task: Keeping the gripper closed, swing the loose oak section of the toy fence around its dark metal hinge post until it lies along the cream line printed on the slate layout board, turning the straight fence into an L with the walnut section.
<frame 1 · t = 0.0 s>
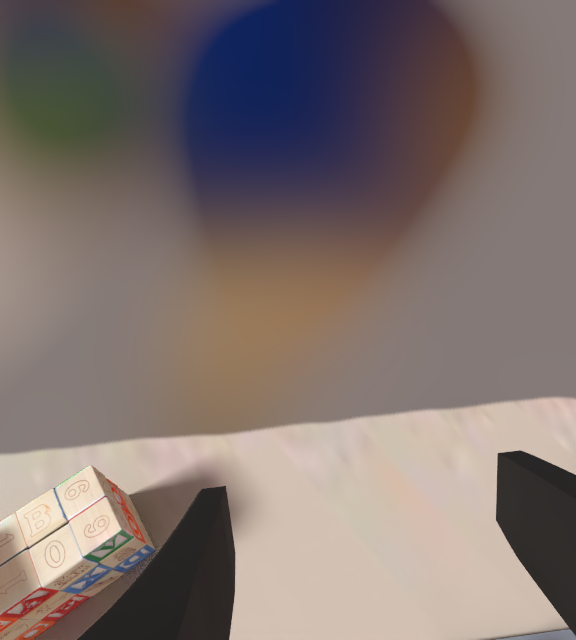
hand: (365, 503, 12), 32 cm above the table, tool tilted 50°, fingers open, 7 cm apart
stack of blocks: (30, 599, 39), on the table
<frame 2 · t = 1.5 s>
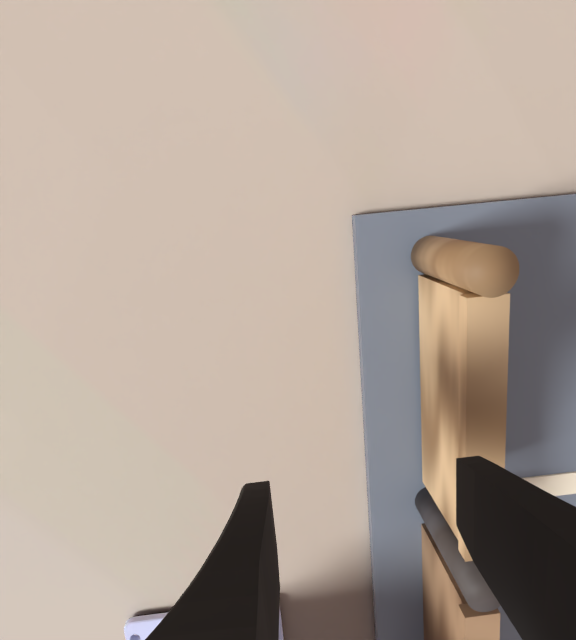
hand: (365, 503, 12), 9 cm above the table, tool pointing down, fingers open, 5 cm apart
layout board: (426, 492, 23), on the table
oak fence section: (456, 389, 17), point 4 cm above the table, hinge at 0.0°
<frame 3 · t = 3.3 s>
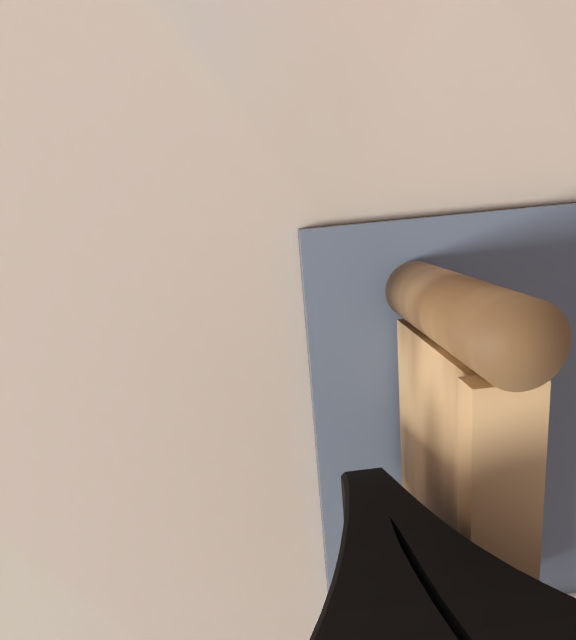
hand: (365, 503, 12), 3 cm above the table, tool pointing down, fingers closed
layout board: (412, 612, 16), on the table
oak fence section: (454, 506, 11), point 4 cm above the table, hinge at 0.0°, touching gripper
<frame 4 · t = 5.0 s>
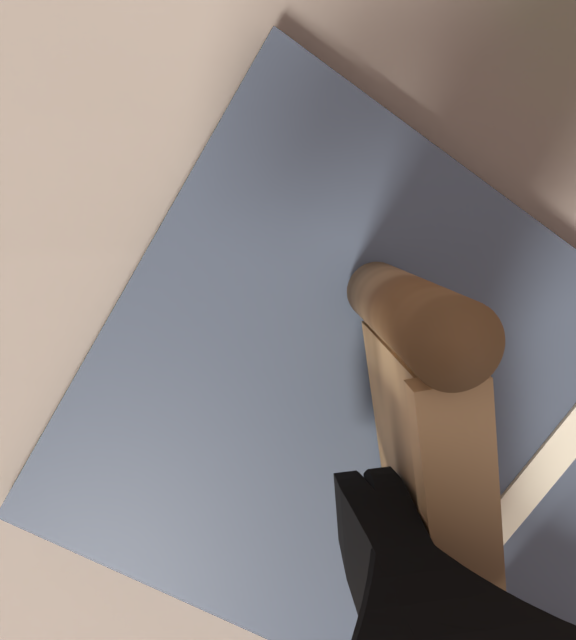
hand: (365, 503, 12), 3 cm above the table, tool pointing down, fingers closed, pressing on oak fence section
layout board: (409, 609, 16), on the table
oak fence section: (427, 505, 11), point 4 cm above the table, hinge at -47.8°, touching gripper
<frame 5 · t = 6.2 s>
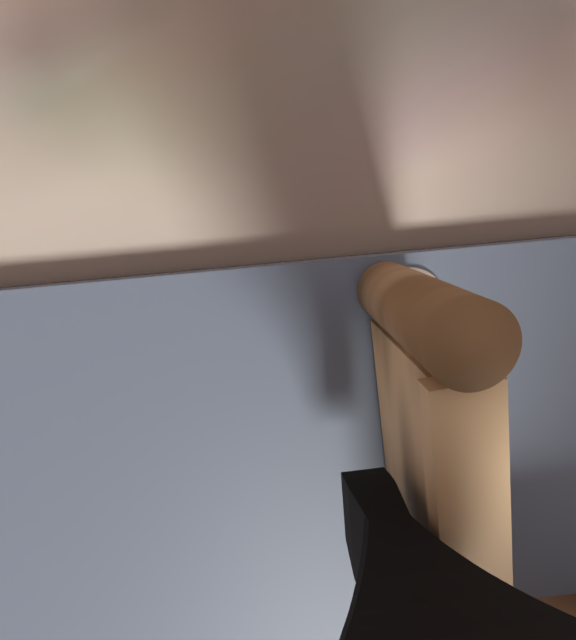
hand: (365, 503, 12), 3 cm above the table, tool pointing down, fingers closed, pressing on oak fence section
layout board: (409, 610, 16), on the table
oak fence section: (433, 505, 11), point 4 cm above the table, hinge at -86.5°, touching gripper
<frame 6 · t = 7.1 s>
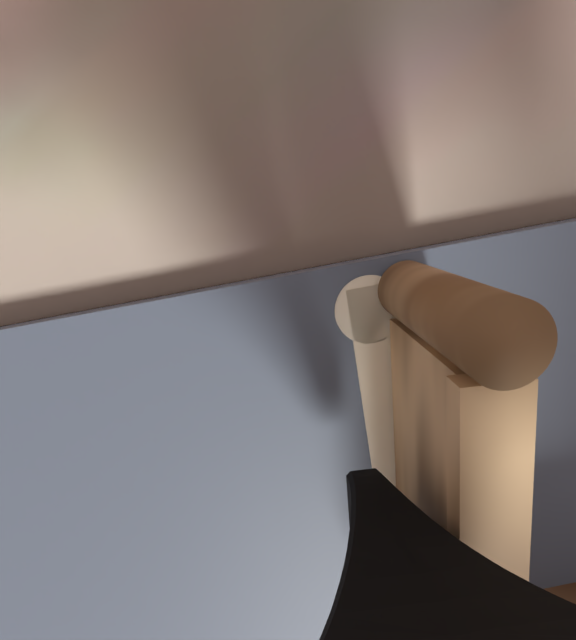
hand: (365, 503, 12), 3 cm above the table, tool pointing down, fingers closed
layout board: (407, 612, 16), on the table
oak fence section: (446, 505, 11), point 4 cm above the table, hinge at -94.9°, touching gripper
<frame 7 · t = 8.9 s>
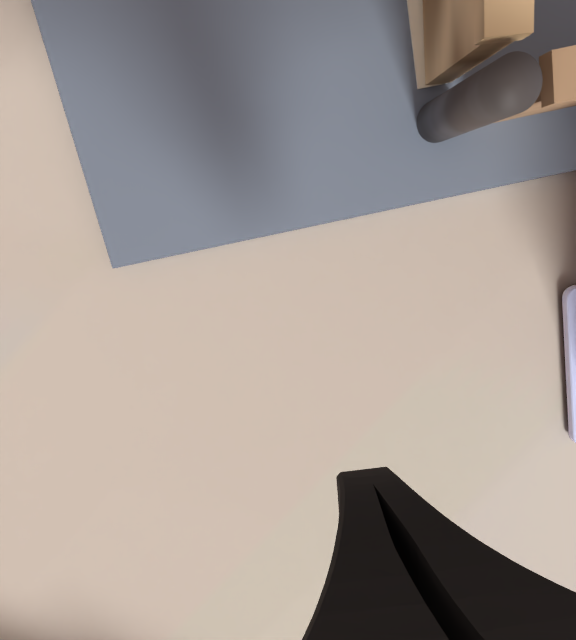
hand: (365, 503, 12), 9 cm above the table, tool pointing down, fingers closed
layout board: (430, 124, 18), on the table
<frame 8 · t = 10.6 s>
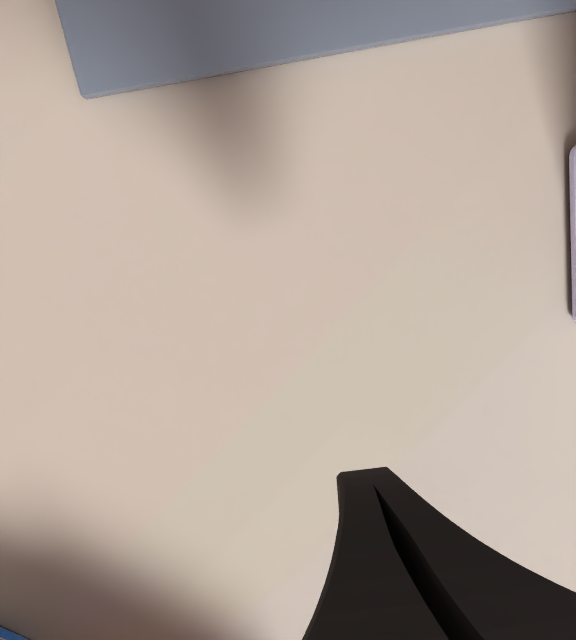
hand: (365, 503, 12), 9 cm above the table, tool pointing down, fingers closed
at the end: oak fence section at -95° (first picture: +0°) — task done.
